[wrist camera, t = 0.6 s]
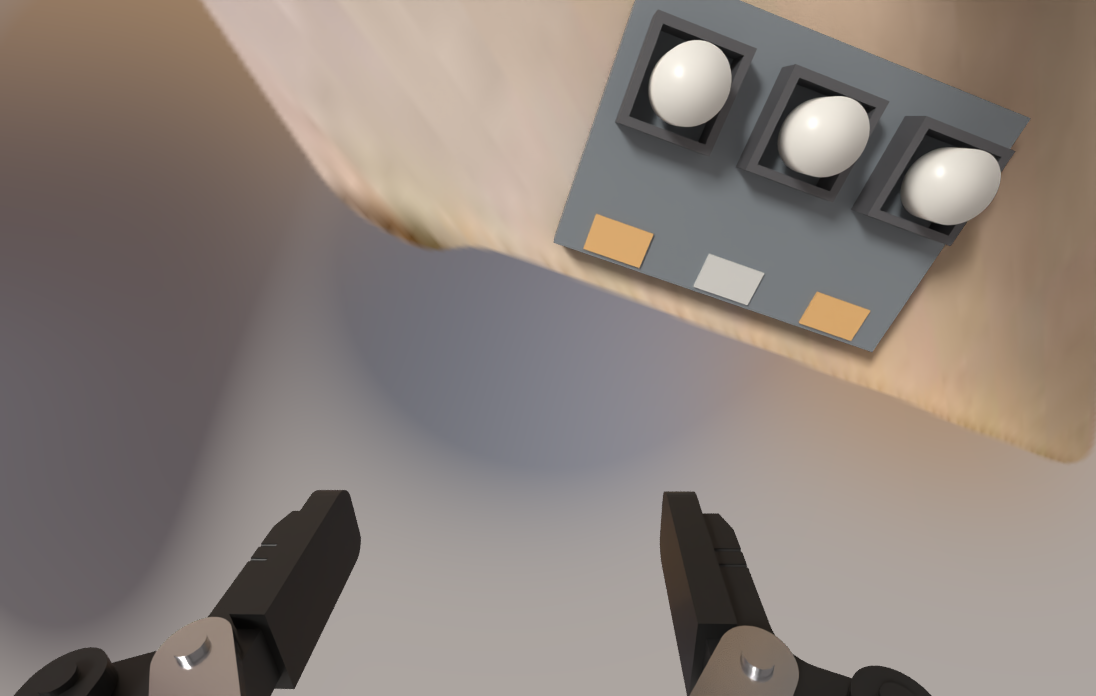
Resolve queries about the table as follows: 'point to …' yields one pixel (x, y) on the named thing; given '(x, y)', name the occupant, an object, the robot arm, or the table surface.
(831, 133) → the button
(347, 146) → the table surface
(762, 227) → the switch panel
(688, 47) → the button
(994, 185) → the button
